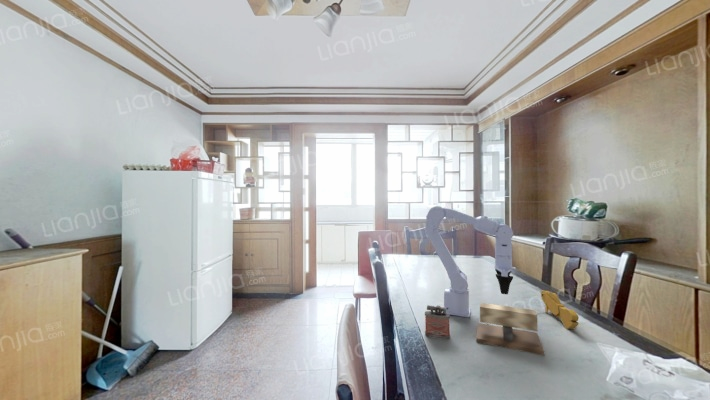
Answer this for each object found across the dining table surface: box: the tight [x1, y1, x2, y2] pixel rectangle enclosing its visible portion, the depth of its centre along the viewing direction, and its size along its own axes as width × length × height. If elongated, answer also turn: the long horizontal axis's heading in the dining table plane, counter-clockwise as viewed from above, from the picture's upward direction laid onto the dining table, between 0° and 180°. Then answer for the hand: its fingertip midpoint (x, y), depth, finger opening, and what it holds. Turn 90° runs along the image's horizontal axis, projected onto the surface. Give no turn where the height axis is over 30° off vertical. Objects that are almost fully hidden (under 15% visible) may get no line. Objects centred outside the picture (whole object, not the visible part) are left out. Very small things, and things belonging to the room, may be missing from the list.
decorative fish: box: [540, 290, 580, 330], centre depth 103 cm, size 22×3×10 cm, turn 169°
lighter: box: [424, 305, 451, 340], centre depth 92 cm, size 8×3×10 cm, turn 71°
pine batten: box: [479, 302, 538, 332], centre depth 89 cm, size 16×4×5 cm, turn 64°
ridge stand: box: [476, 322, 545, 356], centre depth 89 cm, size 18×12×5 cm, turn 64°
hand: (503, 290), depth 105 cm, fingers open, 7 cm apart
